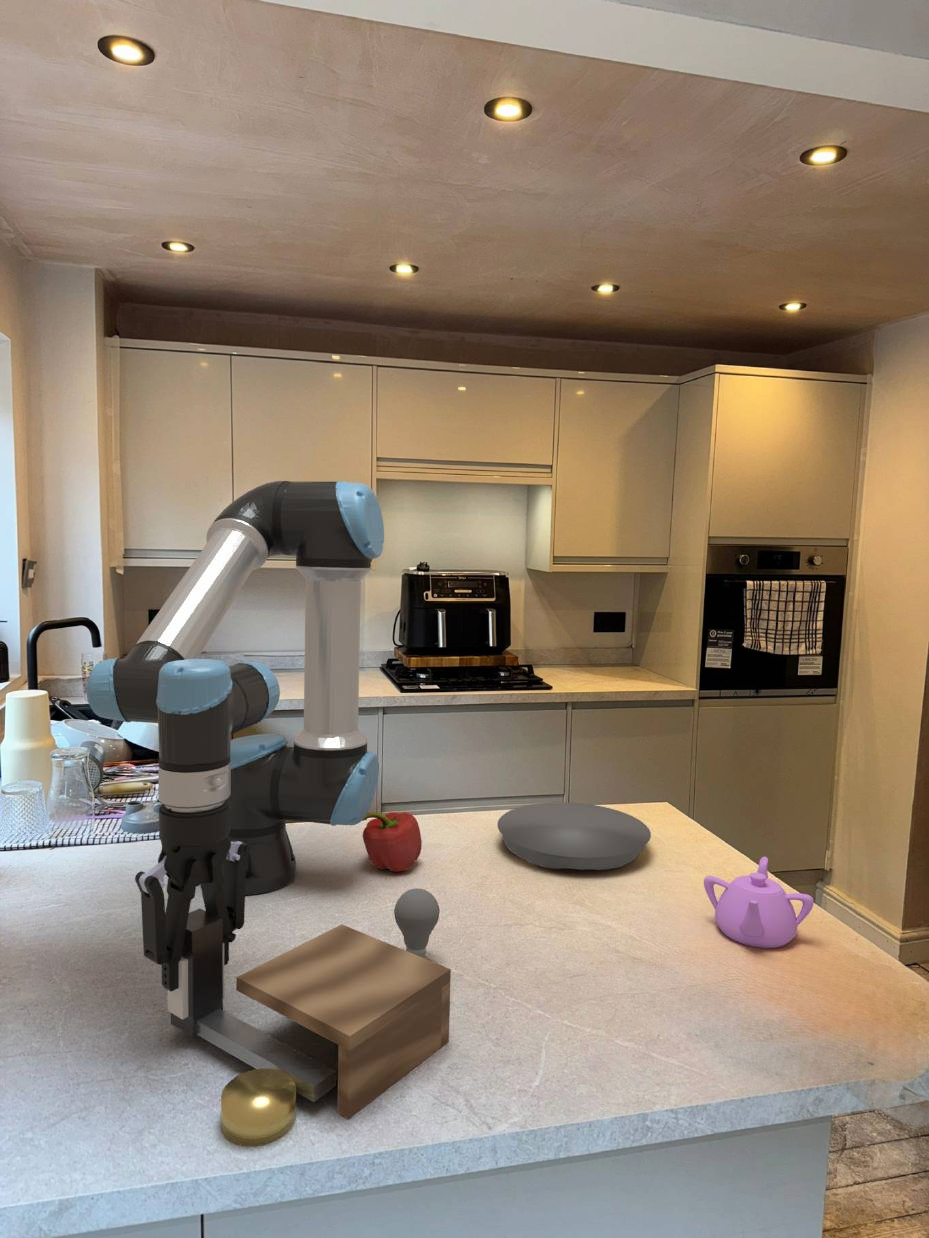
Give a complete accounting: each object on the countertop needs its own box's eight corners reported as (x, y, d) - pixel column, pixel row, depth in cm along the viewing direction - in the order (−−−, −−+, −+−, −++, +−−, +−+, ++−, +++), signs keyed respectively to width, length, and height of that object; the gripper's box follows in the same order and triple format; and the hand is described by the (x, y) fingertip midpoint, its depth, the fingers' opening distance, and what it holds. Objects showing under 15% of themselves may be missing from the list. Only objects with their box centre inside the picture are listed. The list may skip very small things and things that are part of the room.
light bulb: (444, 956, 112) (446, 885, 111) (428, 977, 106) (430, 903, 105) (403, 948, 114) (405, 878, 113) (385, 968, 108) (387, 895, 107)
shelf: (236, 1051, 90) (236, 977, 89) (340, 989, 103) (341, 924, 102) (348, 1118, 80) (349, 1036, 79) (448, 1041, 93) (450, 969, 92)
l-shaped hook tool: (170, 1023, 92) (169, 921, 91) (200, 1007, 96) (199, 908, 94) (310, 1104, 80) (310, 987, 79) (338, 1083, 83) (340, 969, 82)
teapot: (761, 909, 129) (765, 854, 128) (822, 952, 116) (827, 891, 115) (694, 916, 126) (697, 860, 125) (748, 961, 113) (753, 899, 112)
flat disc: (503, 819, 168) (504, 798, 168) (643, 829, 164) (644, 807, 164) (488, 875, 141) (489, 850, 140) (656, 889, 137) (657, 863, 136)
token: (205, 1126, 79) (205, 1097, 78) (261, 1087, 84) (261, 1059, 84) (256, 1158, 75) (256, 1127, 75) (310, 1115, 81) (311, 1086, 80)
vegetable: (368, 883, 135) (369, 823, 134) (351, 860, 144) (352, 804, 143) (430, 874, 139) (432, 816, 138) (410, 852, 149) (411, 798, 148)
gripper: (144, 830, 81) (147, 1054, 84) (278, 790, 95) (277, 983, 97) (102, 813, 86) (106, 1026, 88) (236, 777, 99) (236, 962, 102)
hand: (196, 1003), depth 93 cm, fingers closed on l-shaped hook tool, 4 cm apart
